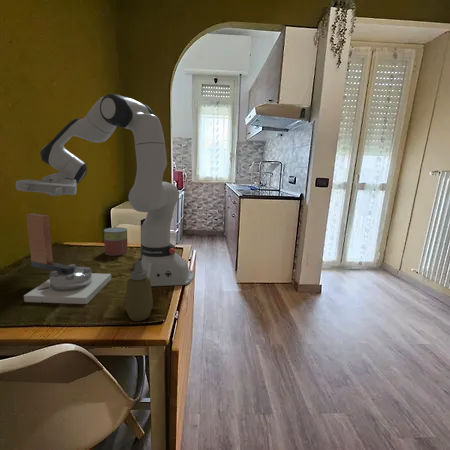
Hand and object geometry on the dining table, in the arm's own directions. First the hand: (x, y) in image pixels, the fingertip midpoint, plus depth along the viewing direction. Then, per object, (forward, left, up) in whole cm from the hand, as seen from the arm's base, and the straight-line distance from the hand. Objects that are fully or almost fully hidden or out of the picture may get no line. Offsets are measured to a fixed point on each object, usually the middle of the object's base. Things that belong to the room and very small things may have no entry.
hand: (39, 190), depth 99 cm
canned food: (-14, -34, -34) cm, 50 cm away
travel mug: (-32, -28, -34) cm, 55 cm away
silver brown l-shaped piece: (-10, +8, -32) cm, 34 cm away
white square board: (-15, +10, -34) cm, 39 cm away
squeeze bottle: (-44, +26, -34) cm, 62 cm away
